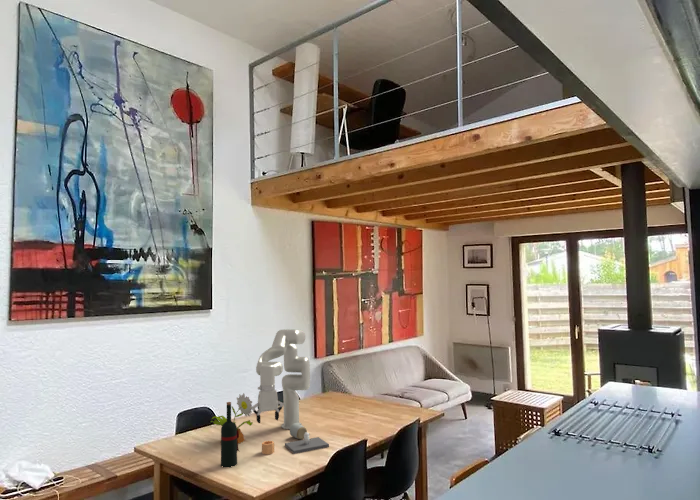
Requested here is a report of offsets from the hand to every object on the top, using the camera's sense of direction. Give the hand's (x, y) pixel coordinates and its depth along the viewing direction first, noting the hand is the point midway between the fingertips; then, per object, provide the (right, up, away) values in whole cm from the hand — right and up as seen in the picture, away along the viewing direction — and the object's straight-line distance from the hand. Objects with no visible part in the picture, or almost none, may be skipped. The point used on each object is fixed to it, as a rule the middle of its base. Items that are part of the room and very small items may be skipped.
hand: (267, 421), depth 253 cm
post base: (+20, -16, +7) cm, 27 cm away
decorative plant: (-25, -18, +19) cm, 36 cm away
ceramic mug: (+15, -18, +23) cm, 32 cm away
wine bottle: (-15, -16, -16) cm, 27 cm away
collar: (0, -16, -1) cm, 16 cm away
